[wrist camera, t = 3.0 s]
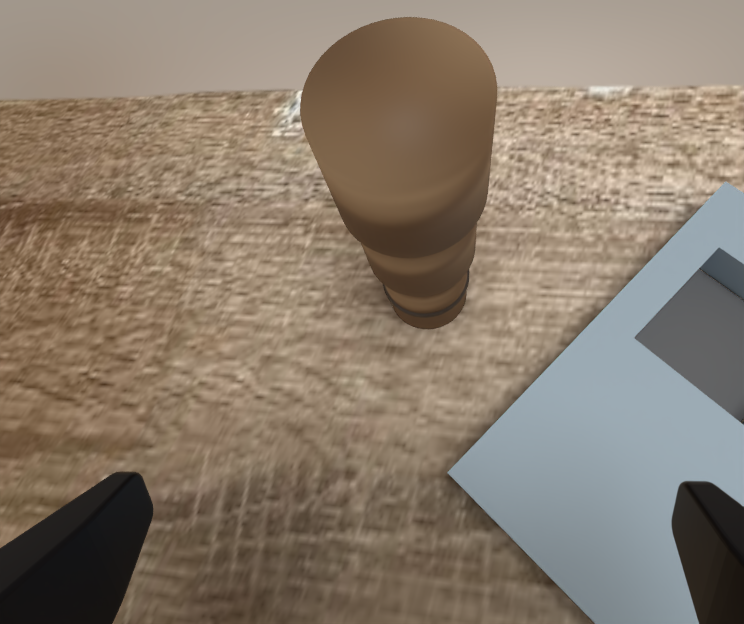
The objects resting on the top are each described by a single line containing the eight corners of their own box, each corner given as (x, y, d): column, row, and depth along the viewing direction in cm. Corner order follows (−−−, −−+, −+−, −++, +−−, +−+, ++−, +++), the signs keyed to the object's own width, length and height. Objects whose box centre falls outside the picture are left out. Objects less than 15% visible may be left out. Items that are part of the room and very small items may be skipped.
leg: (428, 360, 23) (395, 221, 11) (359, 294, 25) (262, 107, 13) (498, 290, 24) (540, 82, 12) (426, 229, 25) (396, -12, 13)
